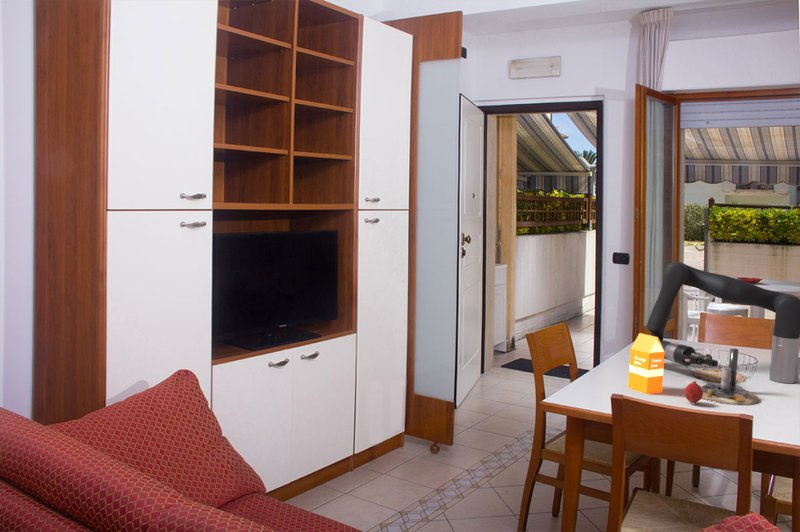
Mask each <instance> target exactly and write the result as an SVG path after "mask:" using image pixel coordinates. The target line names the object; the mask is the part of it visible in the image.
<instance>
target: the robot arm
mask: <svg viewBox="0 0 800 532" xmlns="http://www.w3.org/2000/svg"><path fill="white" fill-rule="evenodd" d="M682 286H688V287H690V288H691V287H692V288H695V289H698V290H701V291H702V292H705V293H707V294H709V295H712V296H714V297H715V298H718V299H721V300H725V301H728V302H731V303H734V304H739V305H740V304H741V305H746V306H754V307H758V308H762V309H765V310H767V311H770V312H773V313H775V314H774V317H775V318H774V324H773V328H772V329H773V330H772V342H771V343H772V344H771V352H770V353H771V355H770V366H769V380H770V381H773V382H777V383H782V384H795V383H799V382H800V356H799V355H800V298H799V296H798V297H797V296H796V295H795V294H791V293H785V292H779V291H775V290H770V289H767V288H763V287H761V286H758V285H756V284H753V283H750V282H747V281H744V280H742V279H740V278H739V279H738V278H734V277H732V276H727V275H724V274H720V273H715V272H709V271H704V270H700V269H698V268H696V267H693V266H690V265H688V264H685V263H684V262H681V261H672V262H670V263H668V264H667V265H666V266H665V268H664V270H663V278H662V284H661V289H660V292H659V294H658V296H657V300H656V301H655V303H654V305H653V308H652V309H651V312H650V316H649V317H648V320H647V323H646V330H648V331H650V335H651V336H655V337H658V339H659V341H660V343H661V345H662V347H663V349H664V352H665V353H664V360H667V361H670V362H672V363H676V364H679V365H682V366H688V367H689V366H691V365H698V366H702V365H704V366H710V367H713V368H715V367H718V365H719V360H716V359H713V357H712V355H711V354H709V353H707V354H704V353H703V354H702V353H701V352H696V349H694V347H692V346H691V345H690V346H689V345H685V344H681V343H678V342H670V341H668V340H667V341H666V340H664V336H665V335H664V334H665V329H666V326H667V324H668V321H669V319H670V315H671V312H672V310H673V306H674V303H675V300H676V298H677V295H678V293H679V292H680V289H681V288H682Z"/></svg>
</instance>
